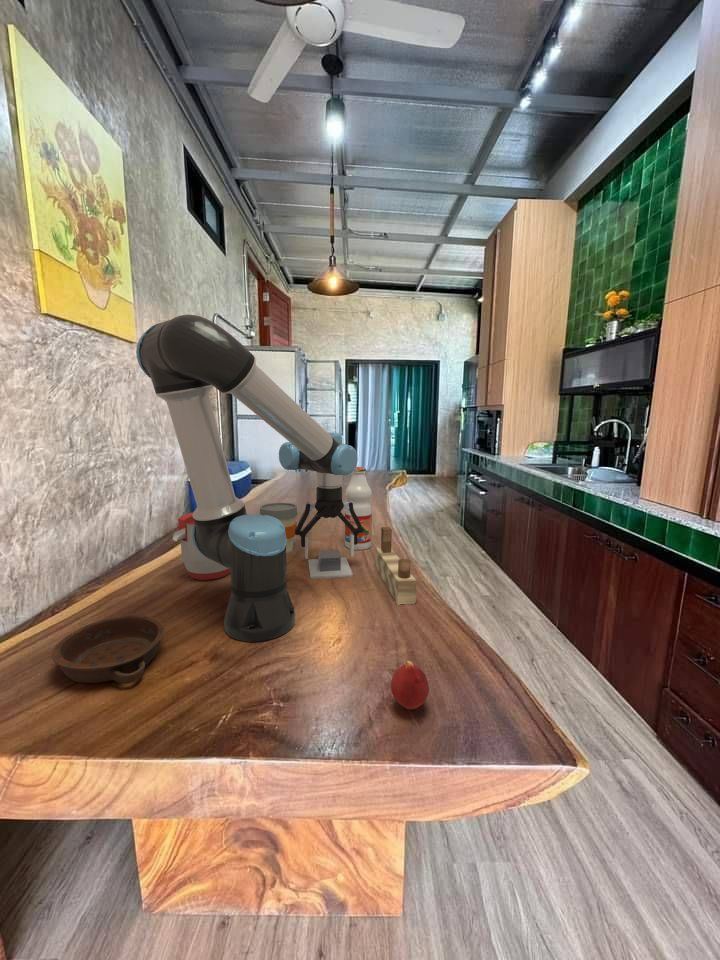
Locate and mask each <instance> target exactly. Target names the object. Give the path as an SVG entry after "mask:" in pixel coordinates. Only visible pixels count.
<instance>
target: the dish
mask: <svg viewBox="0 0 720 960" xmlns="http://www.w3.org/2000/svg"><path fill="white" fill-rule="evenodd" d="M165 629H166V628H165V627H164V624H163V622H161V621H160V620H159V619H157V618H154V617H151V616H148V615H147V616H146V615H140V614H131V615H130V614H129V615H122V616H121V615H120V616H116V617H111V618H105V619H102V620H98V621H95V622H92V623H90V624H88V625H85V626H82V627H80V628H79V629H76V630H74V631H73V632H71V633H69V634H68V635H66V636H65V637H63V638H62V639H60V641H59V642H58V643H57V644H56V645H55V646H54V648H53V649H52V652H51V659H52V661H53V663H55V664H56V665H58V666H59V668H60V669H61V671H62V672H63V673H64V675H65V676H66V677H67V678H69V679H70V680H71V681H73V682H76V683H81V684H83V683H84V684H85V683H86V684H96V683H97V684H98V683H104V682H105V683H106V682H109V681H110V682H111V681H114V682H116V683H118V684H122V685H123V684H124V685H126V684H127V685H128V684H132V683H135V682H137V681H138V680H140V678H142V677H143V675H144V673H145V667H146V666H147V665H148V664H149V663H150V662H151V661H152V660H153V659H154V657H155V656H156V655H157V654H158V653H157V652H158V650H159V647H160V643H161V640H162V638H163V636H164V635H165Z"/></svg>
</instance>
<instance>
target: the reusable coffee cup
mask: <svg viewBox="0 0 720 960" xmlns="http://www.w3.org/2000/svg"><path fill="white" fill-rule="evenodd" d="M259 514H261V515H268V516H272V517H274V518H277V519H278V520H280V521H281V522H282V523H283V525H284V527H285V532H286V539H287V543H286V554H288V553H289V552H292V551H293V549H294V540H295V536H296V535H295V529H296V527H297V525H298V521H297V516H298V507H297V505H296V504H295V503H290V502H289V503H288V502H274V503H273V502H272V503H266V504H263V505H261V506H260V507H259Z"/></svg>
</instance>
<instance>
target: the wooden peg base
mask: <svg viewBox="0 0 720 960" xmlns="http://www.w3.org/2000/svg"><path fill="white" fill-rule="evenodd" d="M380 530H381V532H380V535H381V536H380V546H375V554H374V555H375V561H374V562H375V564H374V565H375V569H376V570H377V571H378V572H377V573H379V575H380V577H381V578H382V580H383V582H384V584H385V586H386V585H387V586H386V588H387V589H388V591H389V593H390V592H391V593H390V594H391V596H392V598H393V600H394V601H395V603H396V604H397V606H401V605H400V604H405V605H415V603H417V600H416V599H417V583H418V582H417V581H418V580H417V579H416V578H415V576H414V575H413V574H412V573H411V560H410V559H407V558H400V557H399V556H398V555H397V553H396V552H395V551H394V549H393V548H392V541H393V540H392V537H393V535H392V534H393V533H392V531H393V529H392V528H391V527H390V526H382V527H381V528H380Z"/></svg>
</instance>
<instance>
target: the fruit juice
mask: <svg viewBox="0 0 720 960" xmlns="http://www.w3.org/2000/svg"><path fill="white" fill-rule="evenodd" d="M366 472H367V468H366V467H363V466H356V468H355V469H354V471H353V472H352V473H351V474H352V476H351V478H350V481H349V483H348V485H347V486H346V489H345V492H344V493H345V499H346V502H348V501H351V502H352V503H353V509H354V512H355V514H356V516H357V518H358V520H359V522H360V524H361V526H362V528H363V529H364V531H363V532H361V533H359V534H358V536H357V545H354V551H364V550H367V549H370V548H371V546H372V533H373V532H372V531H373V530H372V529H373V528H372V525H373V522H372V520H373V519H372V517H373V509H372V503H371V499H372V495H373V493H372V492H373V491H372V488H371V487H370V485H369V482H368V480H367V479H368V478H367V476H366ZM344 516H345V517H346V519H347V520H348V521H349V522H350V523H351V524H352V525H353V526H354V528H355V529H356V528H358V527H357V525H356V523H355V521H354V519H353V517H352V515H351V513H350V511H349V510H347V509H346V507H344ZM350 533H353V532H352V531H351V530H350V529H349V528H348V527H347V525H346V524H345V523H344V545H345V548H347V549H349V550H350Z"/></svg>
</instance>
